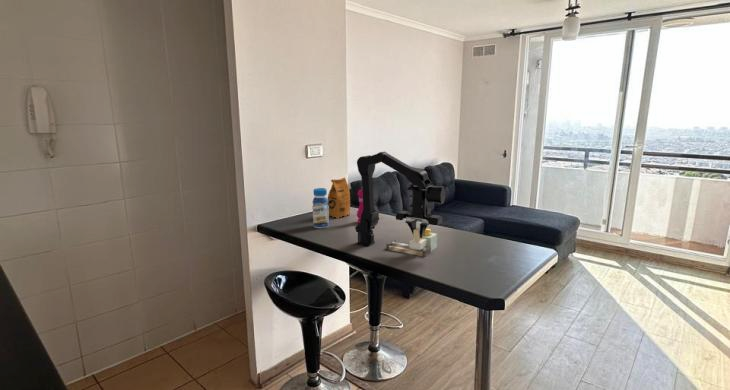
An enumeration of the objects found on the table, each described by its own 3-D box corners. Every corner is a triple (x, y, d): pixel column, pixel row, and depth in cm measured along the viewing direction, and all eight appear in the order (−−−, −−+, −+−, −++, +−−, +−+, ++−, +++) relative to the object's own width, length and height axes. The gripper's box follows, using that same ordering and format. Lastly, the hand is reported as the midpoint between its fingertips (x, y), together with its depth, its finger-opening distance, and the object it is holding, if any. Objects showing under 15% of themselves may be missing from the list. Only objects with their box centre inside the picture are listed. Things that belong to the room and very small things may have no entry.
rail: (386, 249, 168) (386, 243, 167) (393, 245, 173) (393, 240, 172) (425, 256, 158) (425, 250, 158) (430, 252, 163) (430, 246, 163)
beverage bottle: (332, 225, 205) (331, 188, 201) (322, 229, 198) (321, 191, 194) (320, 223, 209) (318, 187, 206) (309, 227, 202) (308, 189, 199)
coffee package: (325, 216, 224) (324, 179, 220) (340, 212, 233) (340, 176, 229) (337, 219, 218) (336, 180, 213) (352, 215, 227) (352, 178, 222)
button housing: (415, 249, 168) (415, 235, 166) (422, 244, 174) (422, 231, 173) (430, 251, 164) (430, 238, 163) (436, 246, 170) (437, 233, 169)
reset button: (421, 241, 168) (421, 229, 167) (424, 239, 171) (424, 228, 170) (428, 242, 166) (428, 231, 165) (431, 240, 169) (431, 229, 168)
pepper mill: (368, 224, 207) (368, 187, 203) (355, 223, 208) (355, 187, 204) (371, 221, 214) (371, 185, 210) (358, 220, 215) (358, 184, 211)
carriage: (409, 247, 161) (409, 229, 160) (415, 243, 166) (415, 226, 165) (420, 249, 159) (420, 231, 157) (426, 245, 164) (426, 228, 162)
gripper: (447, 199, 161) (446, 236, 164) (407, 195, 170) (406, 229, 173) (437, 205, 151) (436, 243, 154) (395, 200, 161) (395, 236, 164)
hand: (418, 237), depth 162 cm, fingers closed on carriage, 2 cm apart
